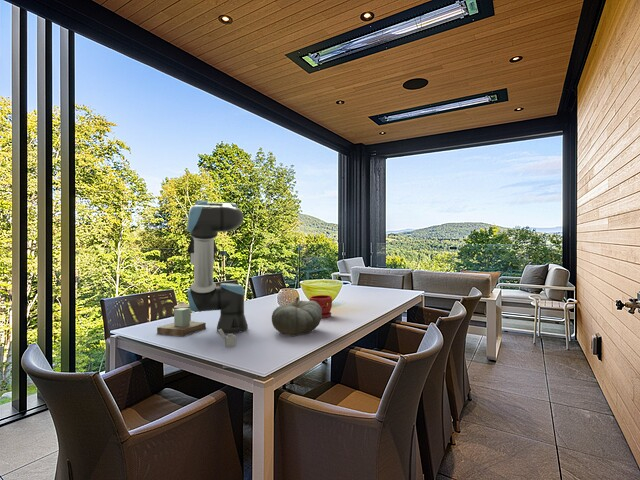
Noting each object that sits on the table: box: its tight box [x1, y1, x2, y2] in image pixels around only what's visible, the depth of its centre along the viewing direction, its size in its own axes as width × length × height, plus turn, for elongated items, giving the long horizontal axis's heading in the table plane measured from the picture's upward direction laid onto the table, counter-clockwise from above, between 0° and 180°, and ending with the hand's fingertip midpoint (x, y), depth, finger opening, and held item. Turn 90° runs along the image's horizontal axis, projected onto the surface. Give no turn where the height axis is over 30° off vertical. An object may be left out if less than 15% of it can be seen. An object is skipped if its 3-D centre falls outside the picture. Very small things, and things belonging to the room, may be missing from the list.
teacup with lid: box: [173, 300, 192, 321], centre depth 194 cm, size 12×9×12 cm
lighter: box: [218, 328, 237, 349], centre depth 146 cm, size 7×2×8 cm, turn 122°
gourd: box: [271, 297, 323, 337], centre depth 168 cm, size 25×25×17 cm
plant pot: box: [309, 294, 333, 319], centre depth 204 cm, size 13×13×12 cm
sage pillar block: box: [173, 308, 190, 326], centre depth 173 cm, size 5×5×8 cm
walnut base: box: [156, 320, 207, 337], centre depth 173 cm, size 16×16×3 cm
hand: (202, 264), depth 198 cm, fingers open, 13 cm apart
